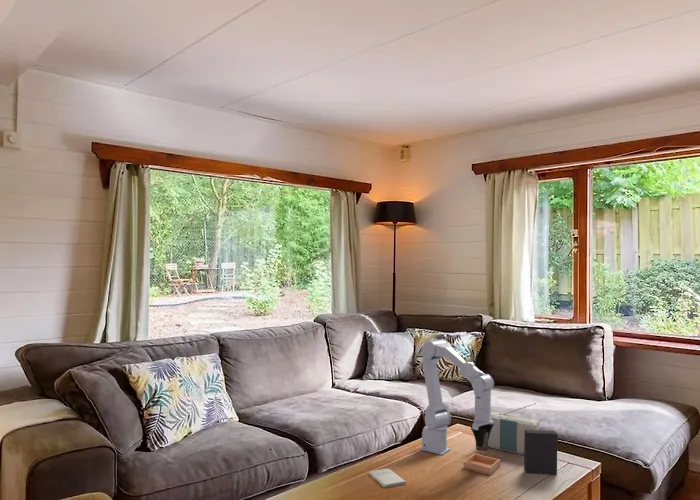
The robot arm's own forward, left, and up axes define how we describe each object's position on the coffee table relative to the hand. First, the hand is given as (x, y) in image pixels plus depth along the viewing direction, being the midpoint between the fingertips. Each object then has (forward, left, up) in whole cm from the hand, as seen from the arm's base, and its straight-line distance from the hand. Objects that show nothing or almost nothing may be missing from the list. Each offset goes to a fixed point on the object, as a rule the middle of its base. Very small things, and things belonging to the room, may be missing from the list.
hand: (482, 444), depth 203 cm
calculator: (+19, +8, -9) cm, 22 cm away
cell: (0, 0, -2) cm, 2 cm away
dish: (0, 0, -8) cm, 8 cm away
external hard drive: (-23, -30, -9) cm, 39 cm away
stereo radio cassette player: (+3, +24, -9) cm, 26 cm away
